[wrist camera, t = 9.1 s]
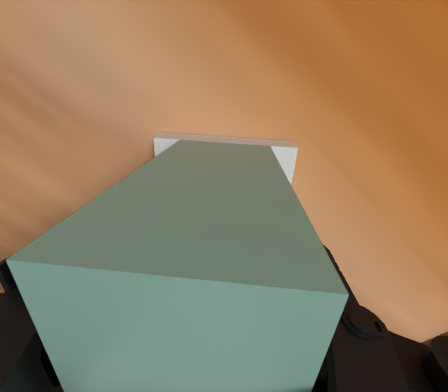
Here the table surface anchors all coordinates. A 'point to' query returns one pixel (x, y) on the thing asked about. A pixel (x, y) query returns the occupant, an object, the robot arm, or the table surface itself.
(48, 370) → the robot arm
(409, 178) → the table surface
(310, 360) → the white green long block
